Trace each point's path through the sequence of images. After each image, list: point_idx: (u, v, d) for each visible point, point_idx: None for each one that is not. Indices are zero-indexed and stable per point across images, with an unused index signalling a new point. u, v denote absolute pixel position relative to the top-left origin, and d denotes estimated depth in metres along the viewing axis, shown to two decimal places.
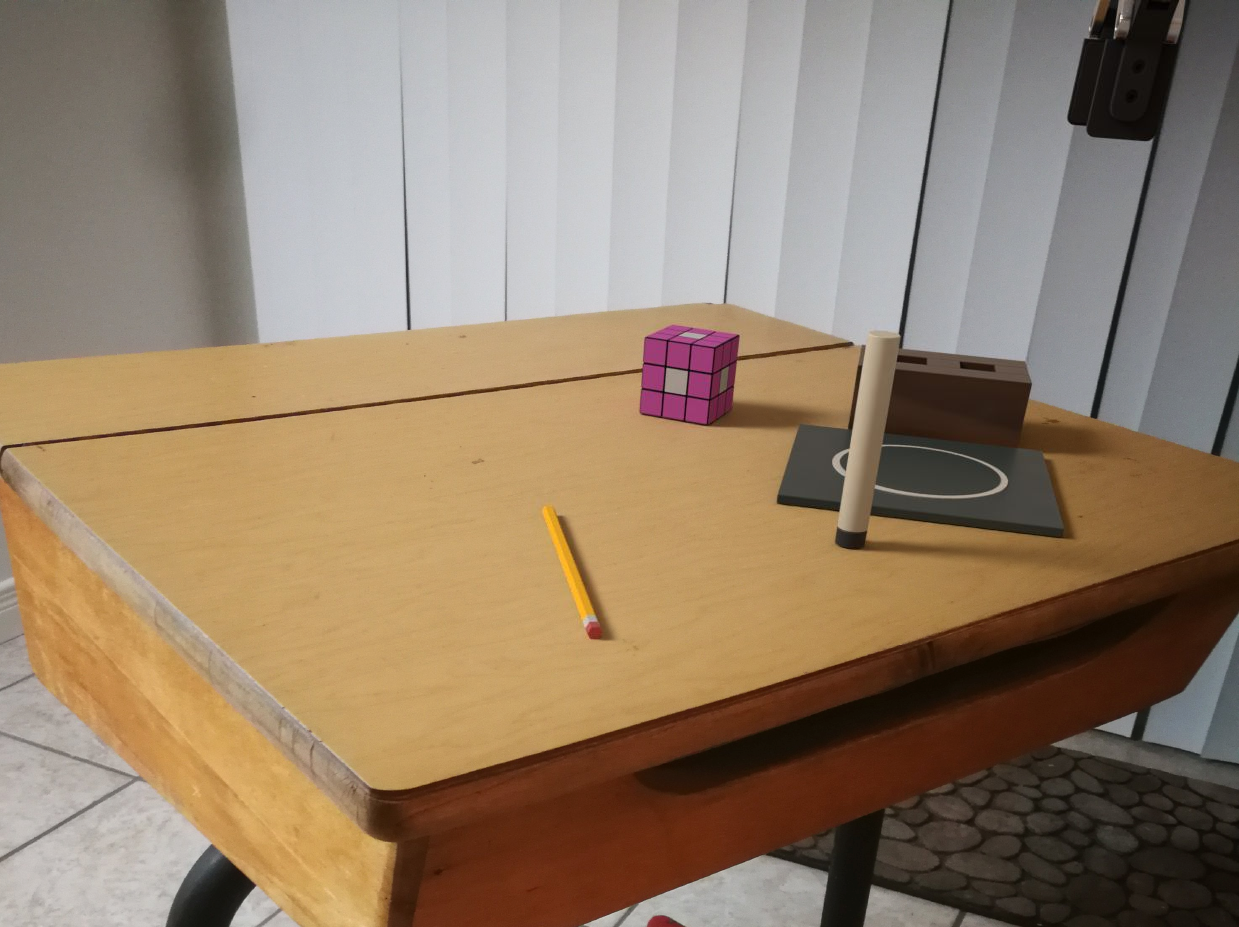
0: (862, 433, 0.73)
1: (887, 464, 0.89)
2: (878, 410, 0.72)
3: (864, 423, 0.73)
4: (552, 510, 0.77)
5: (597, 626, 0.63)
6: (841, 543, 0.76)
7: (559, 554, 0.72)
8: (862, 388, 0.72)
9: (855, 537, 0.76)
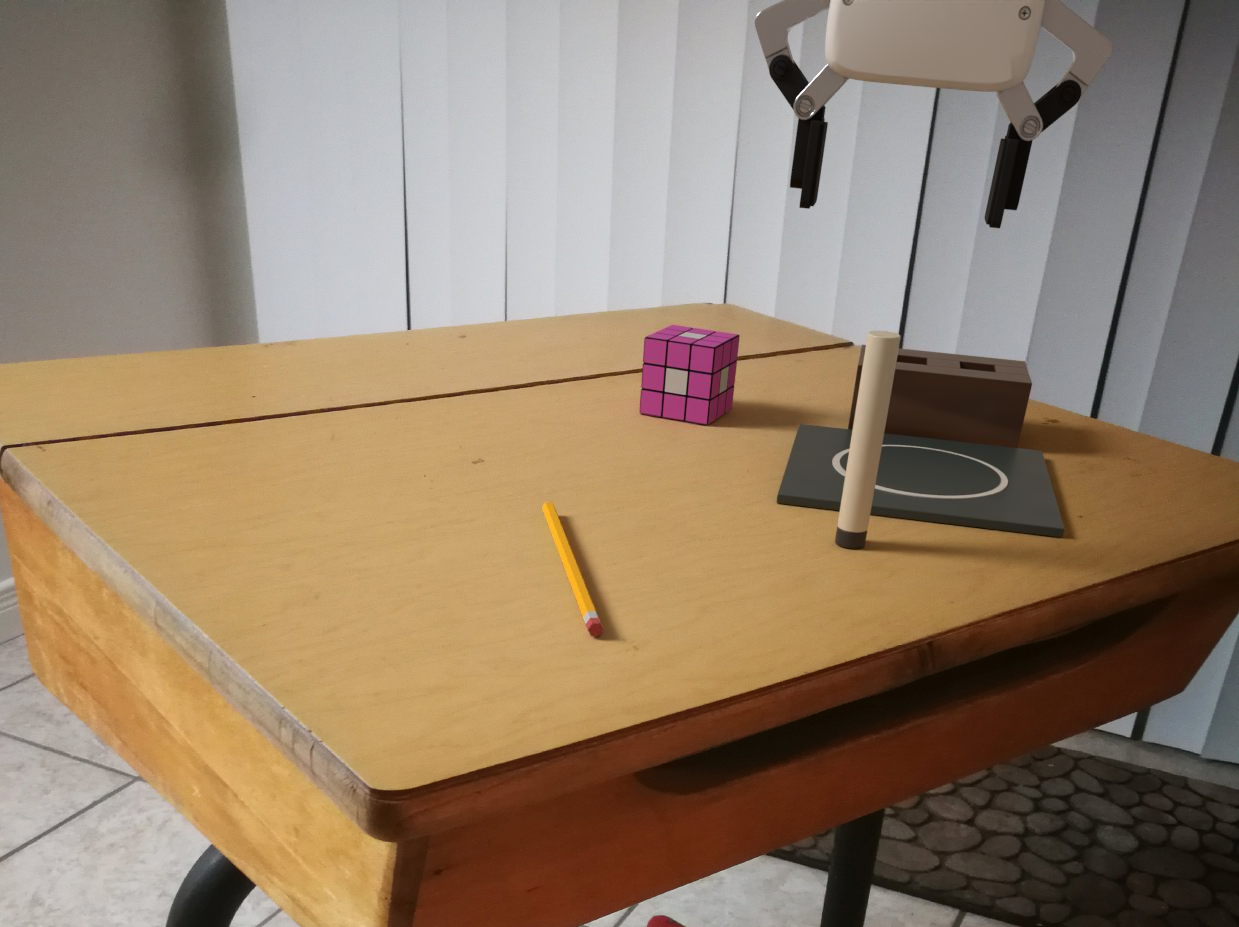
0: (862, 433, 0.73)
1: (887, 464, 0.89)
2: (878, 410, 0.72)
3: (864, 423, 0.73)
4: (552, 507, 0.77)
5: (598, 623, 0.63)
6: (841, 543, 0.76)
7: (559, 550, 0.72)
8: (862, 388, 0.72)
9: (855, 537, 0.76)
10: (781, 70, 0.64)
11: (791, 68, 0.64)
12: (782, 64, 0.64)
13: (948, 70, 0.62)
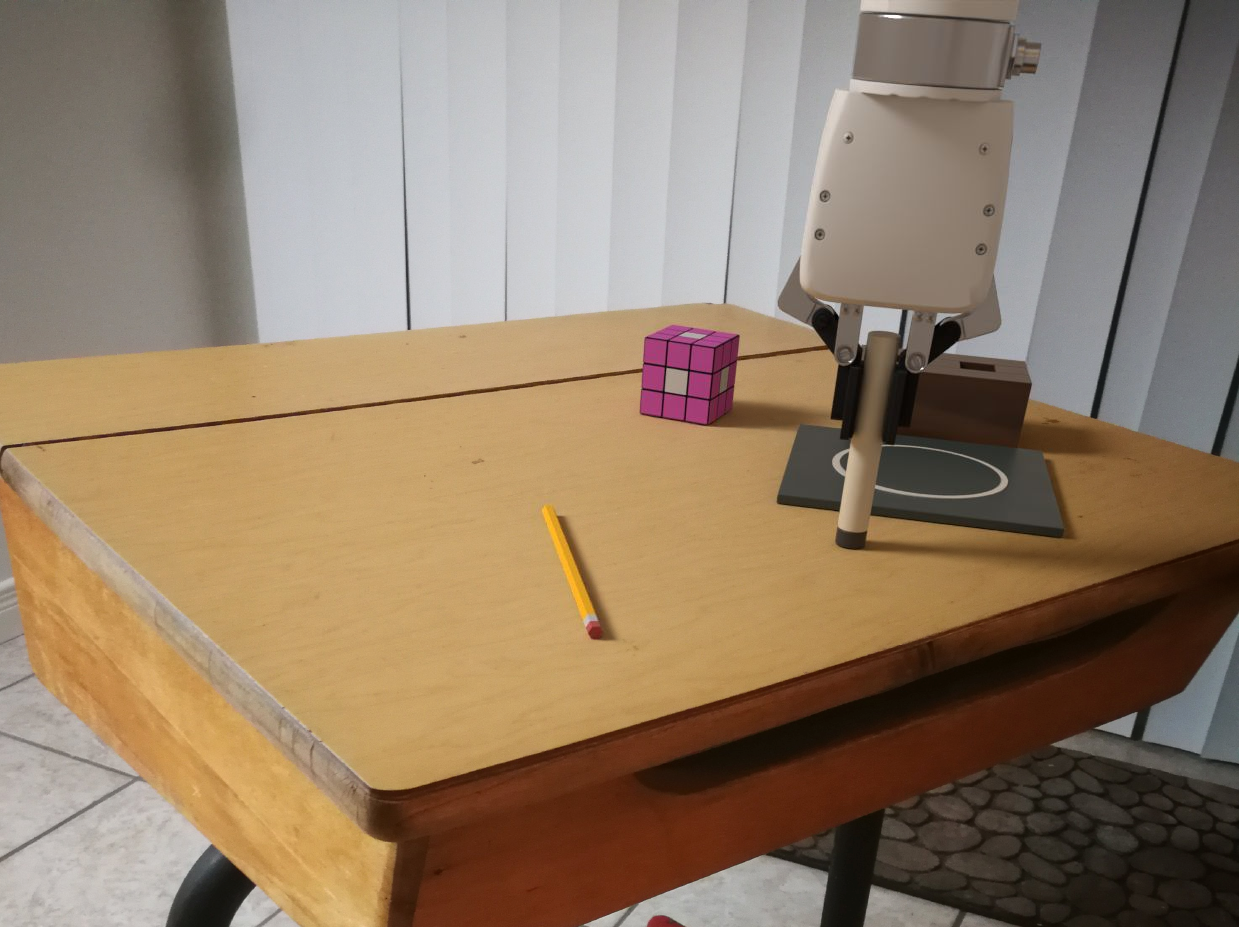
0: (862, 433, 0.73)
1: (887, 464, 0.89)
2: (878, 410, 0.72)
3: (864, 423, 0.73)
4: (552, 510, 0.77)
5: (598, 626, 0.63)
6: (842, 543, 0.76)
7: (559, 553, 0.72)
8: (862, 388, 0.72)
9: (855, 537, 0.76)
10: (823, 322, 0.70)
11: (832, 321, 0.70)
12: (824, 318, 0.70)
13: (912, 296, 0.68)
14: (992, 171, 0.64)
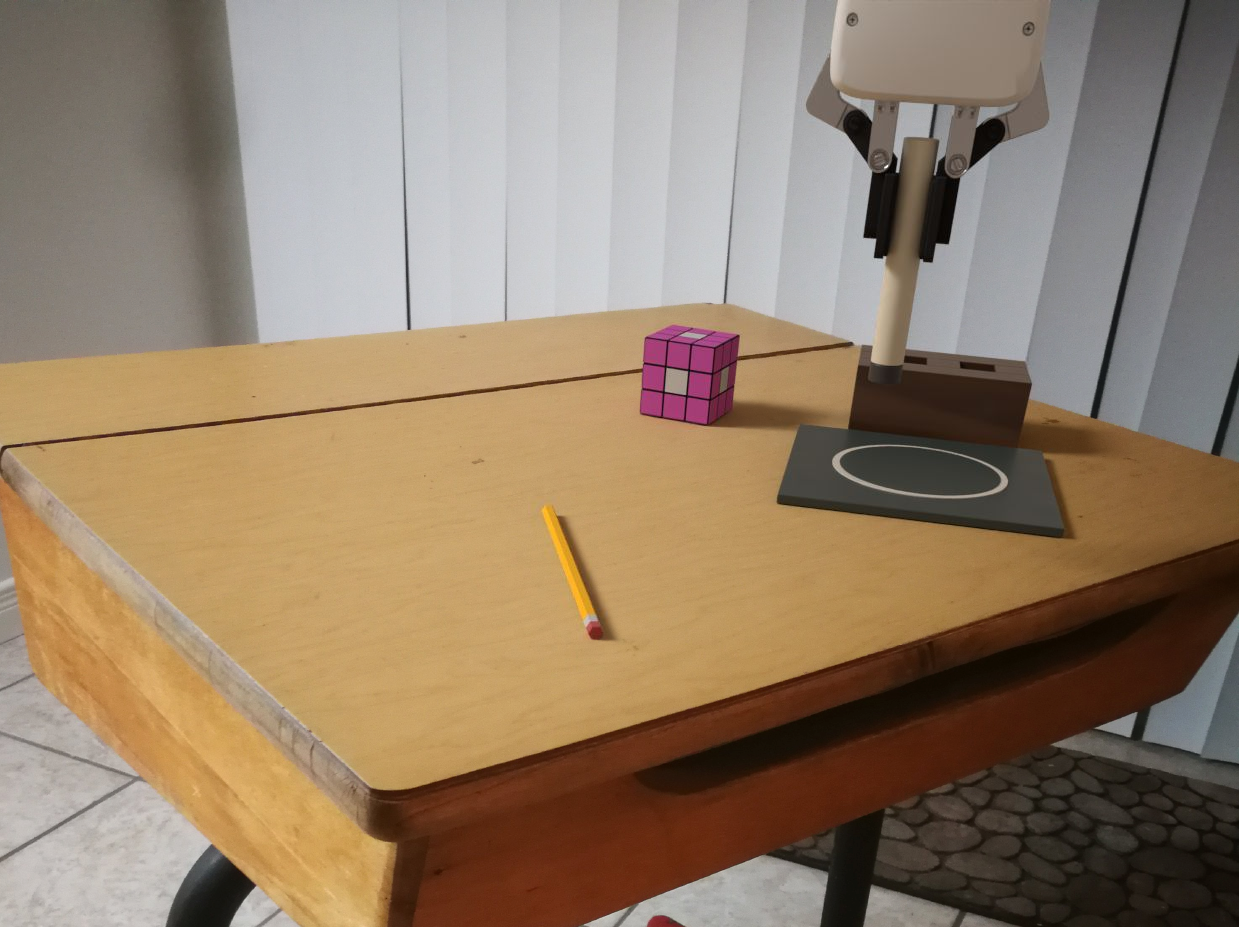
0: (898, 252, 0.68)
1: (887, 464, 0.89)
2: (915, 224, 0.67)
3: (900, 240, 0.67)
4: (552, 510, 0.77)
5: (598, 626, 0.63)
6: (875, 379, 0.71)
7: (559, 554, 0.72)
8: (897, 200, 0.67)
9: (890, 371, 0.71)
10: (855, 125, 0.65)
11: (865, 123, 0.65)
12: (856, 119, 0.65)
13: (953, 87, 0.62)
14: None
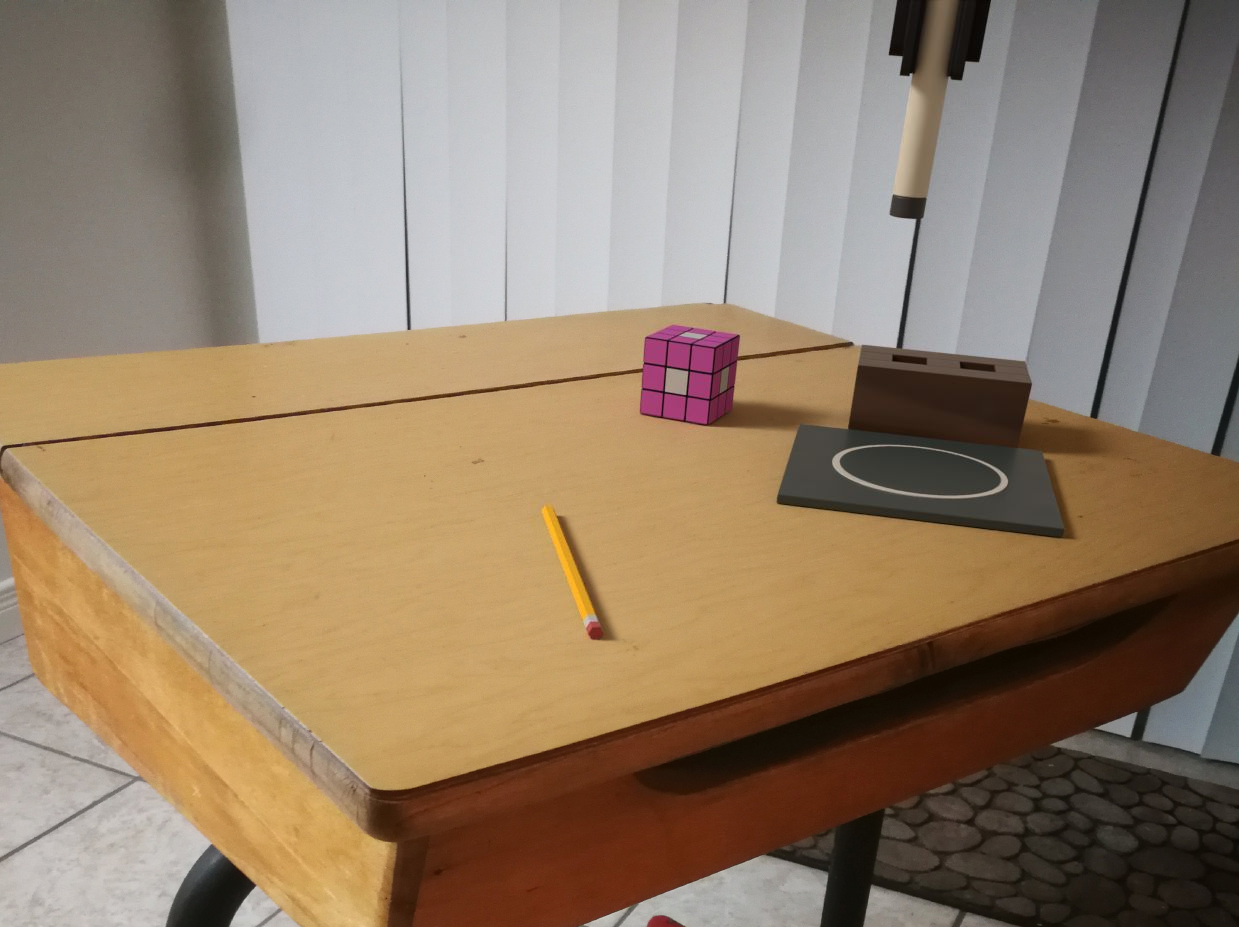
0: (925, 68, 0.64)
1: (887, 464, 0.89)
2: (944, 37, 0.63)
3: (928, 54, 0.64)
4: (552, 510, 0.77)
5: (598, 626, 0.63)
6: (898, 212, 0.67)
7: (559, 554, 0.72)
8: (926, 11, 0.63)
9: (913, 204, 0.67)
10: None
11: None
12: None
13: None
14: None
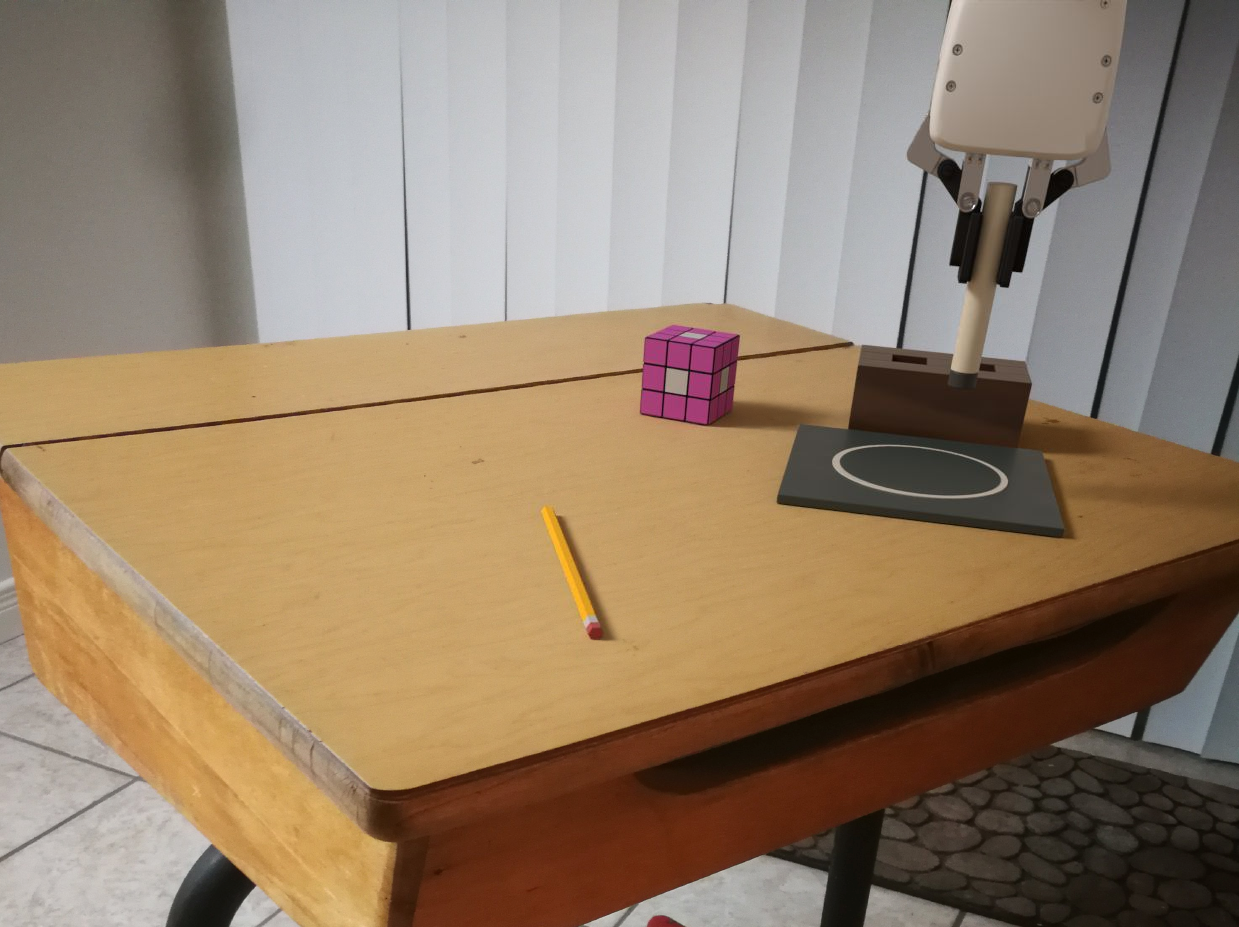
0: (979, 277, 0.80)
1: (887, 464, 0.89)
2: (995, 255, 0.80)
3: (981, 267, 0.80)
4: (552, 511, 0.77)
5: (598, 627, 0.63)
6: (955, 384, 0.84)
7: (559, 555, 0.72)
8: (980, 234, 0.79)
9: (968, 378, 0.84)
10: (948, 172, 0.78)
11: (956, 170, 0.78)
12: (949, 167, 0.77)
13: (1033, 143, 0.75)
14: (1111, 23, 0.71)
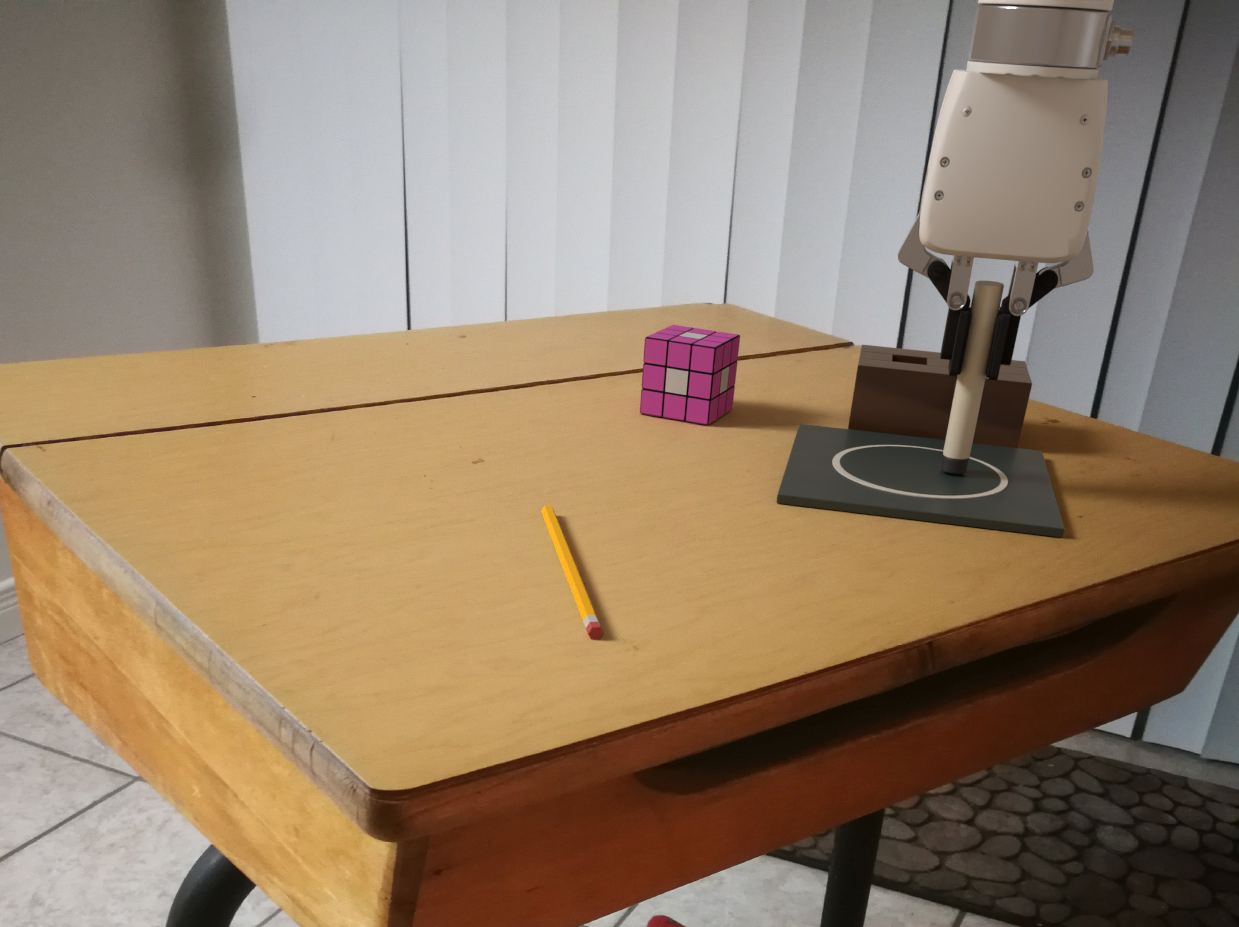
0: (968, 370, 0.84)
1: (887, 464, 0.89)
2: (983, 350, 0.83)
3: (970, 361, 0.84)
4: (551, 510, 0.77)
5: (598, 626, 0.63)
6: (947, 469, 0.88)
7: (559, 554, 0.72)
8: (969, 330, 0.83)
9: (959, 463, 0.87)
10: (937, 273, 0.81)
11: (945, 271, 0.81)
12: (938, 268, 0.81)
13: (1018, 248, 0.79)
14: (1090, 138, 0.75)
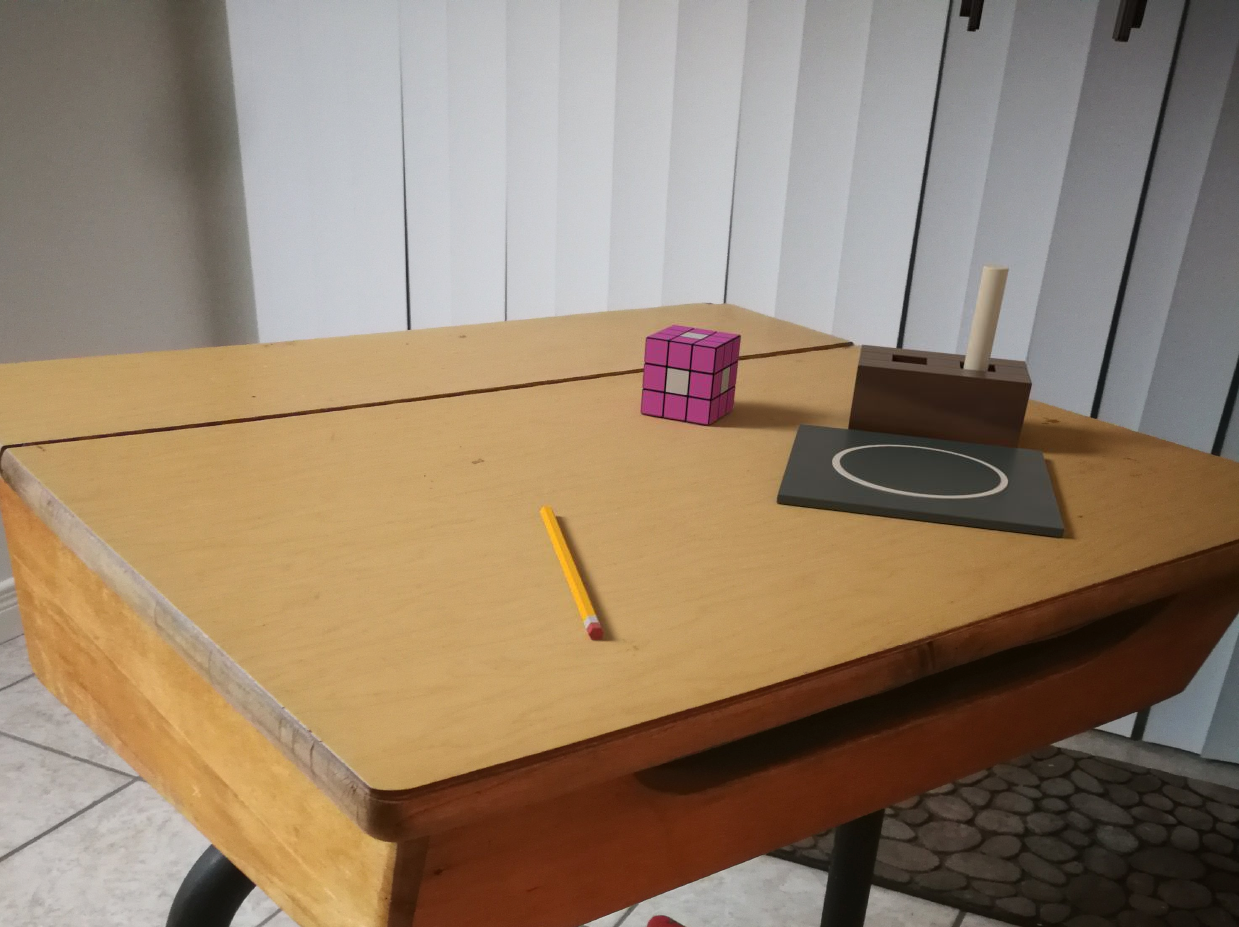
0: (977, 343, 0.96)
1: (887, 464, 0.89)
2: (990, 325, 0.95)
3: (979, 335, 0.96)
4: (550, 510, 0.77)
5: (599, 627, 0.63)
6: None
7: (558, 555, 0.72)
8: (978, 308, 0.95)
9: None
10: None
11: None
12: None
13: None
14: None
